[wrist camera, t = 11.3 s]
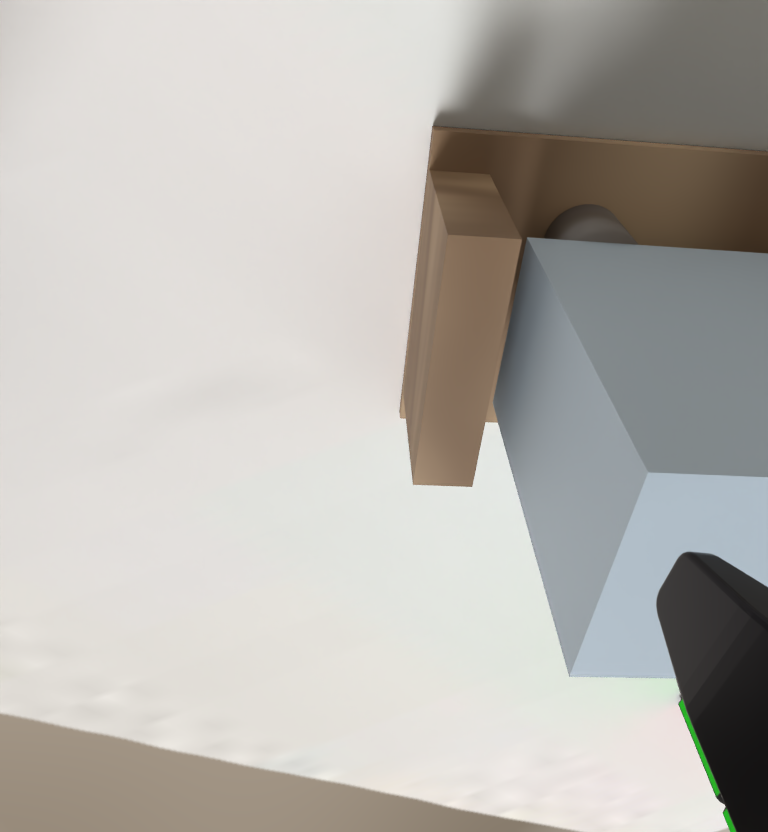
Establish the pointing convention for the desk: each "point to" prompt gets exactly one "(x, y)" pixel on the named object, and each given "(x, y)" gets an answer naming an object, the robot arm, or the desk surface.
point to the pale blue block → (635, 432)
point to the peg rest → (550, 219)
